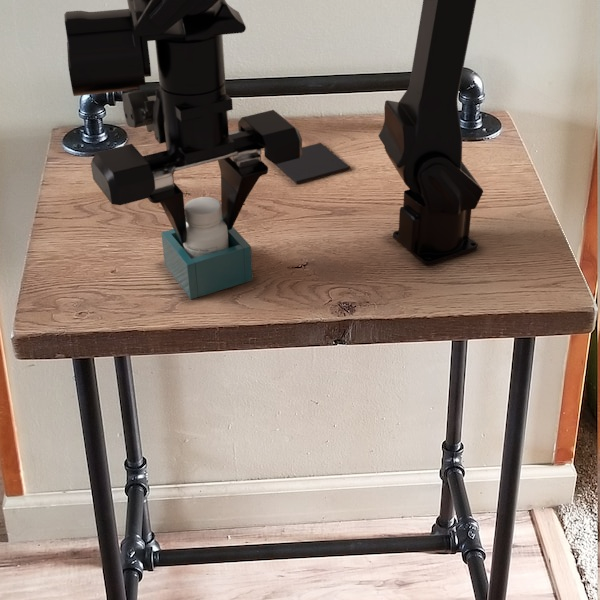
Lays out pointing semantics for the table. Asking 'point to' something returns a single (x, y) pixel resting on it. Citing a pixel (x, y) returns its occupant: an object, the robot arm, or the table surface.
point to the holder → (208, 265)
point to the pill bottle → (204, 227)
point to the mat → (313, 164)
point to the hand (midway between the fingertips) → (205, 234)
